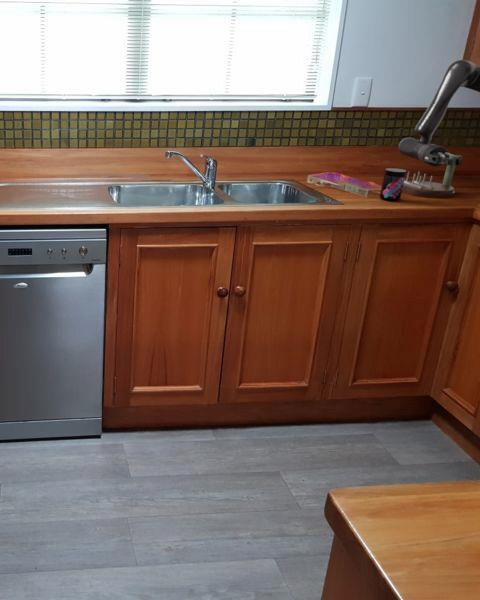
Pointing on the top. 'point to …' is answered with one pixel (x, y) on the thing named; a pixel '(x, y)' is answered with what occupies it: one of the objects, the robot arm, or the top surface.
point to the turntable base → (428, 194)
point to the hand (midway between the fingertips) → (455, 162)
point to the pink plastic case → (344, 182)
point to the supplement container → (392, 184)
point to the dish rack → (432, 186)
